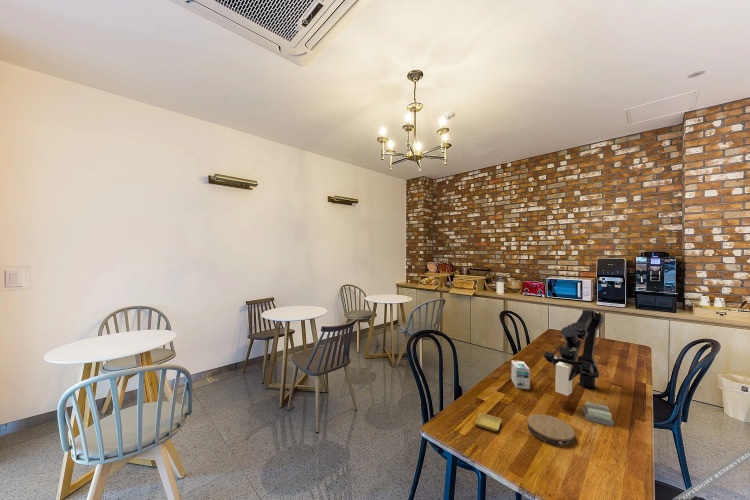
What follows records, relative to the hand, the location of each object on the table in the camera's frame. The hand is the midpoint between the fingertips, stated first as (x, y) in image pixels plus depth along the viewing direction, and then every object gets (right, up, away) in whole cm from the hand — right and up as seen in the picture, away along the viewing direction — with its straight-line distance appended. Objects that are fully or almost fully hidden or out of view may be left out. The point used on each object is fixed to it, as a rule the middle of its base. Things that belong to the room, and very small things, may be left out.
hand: (562, 378), depth 131 cm
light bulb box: (-8, -14, +23) cm, 28 cm away
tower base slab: (+10, -14, -7) cm, 19 cm away
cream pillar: (+1, -7, +1) cm, 7 cm away
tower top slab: (+10, -12, -8) cm, 17 cm away
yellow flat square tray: (-39, -14, -13) cm, 43 cm away
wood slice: (-16, -14, -18) cm, 28 cm away
